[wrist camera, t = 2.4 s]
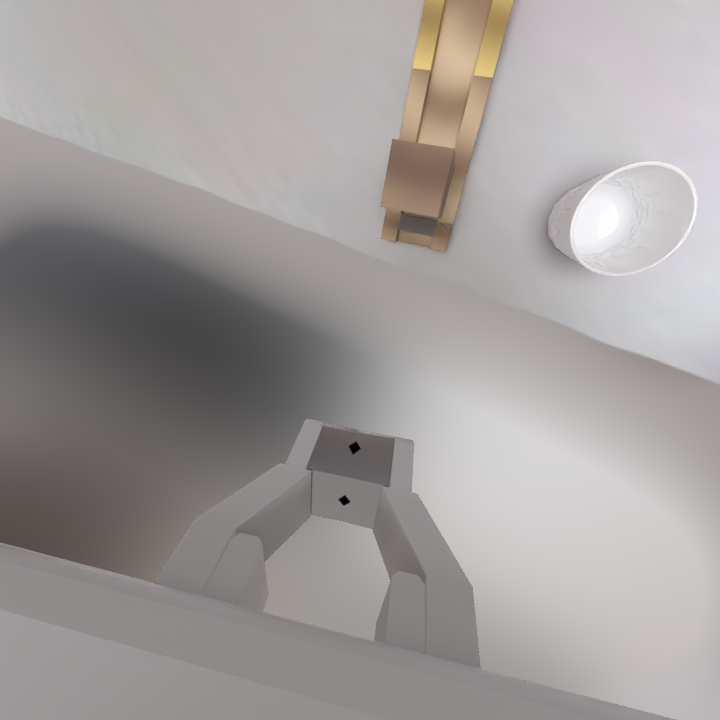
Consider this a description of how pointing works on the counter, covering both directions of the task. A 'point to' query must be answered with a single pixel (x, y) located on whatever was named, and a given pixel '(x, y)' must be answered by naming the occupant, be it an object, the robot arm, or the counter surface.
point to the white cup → (625, 218)
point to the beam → (448, 100)
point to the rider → (418, 177)
